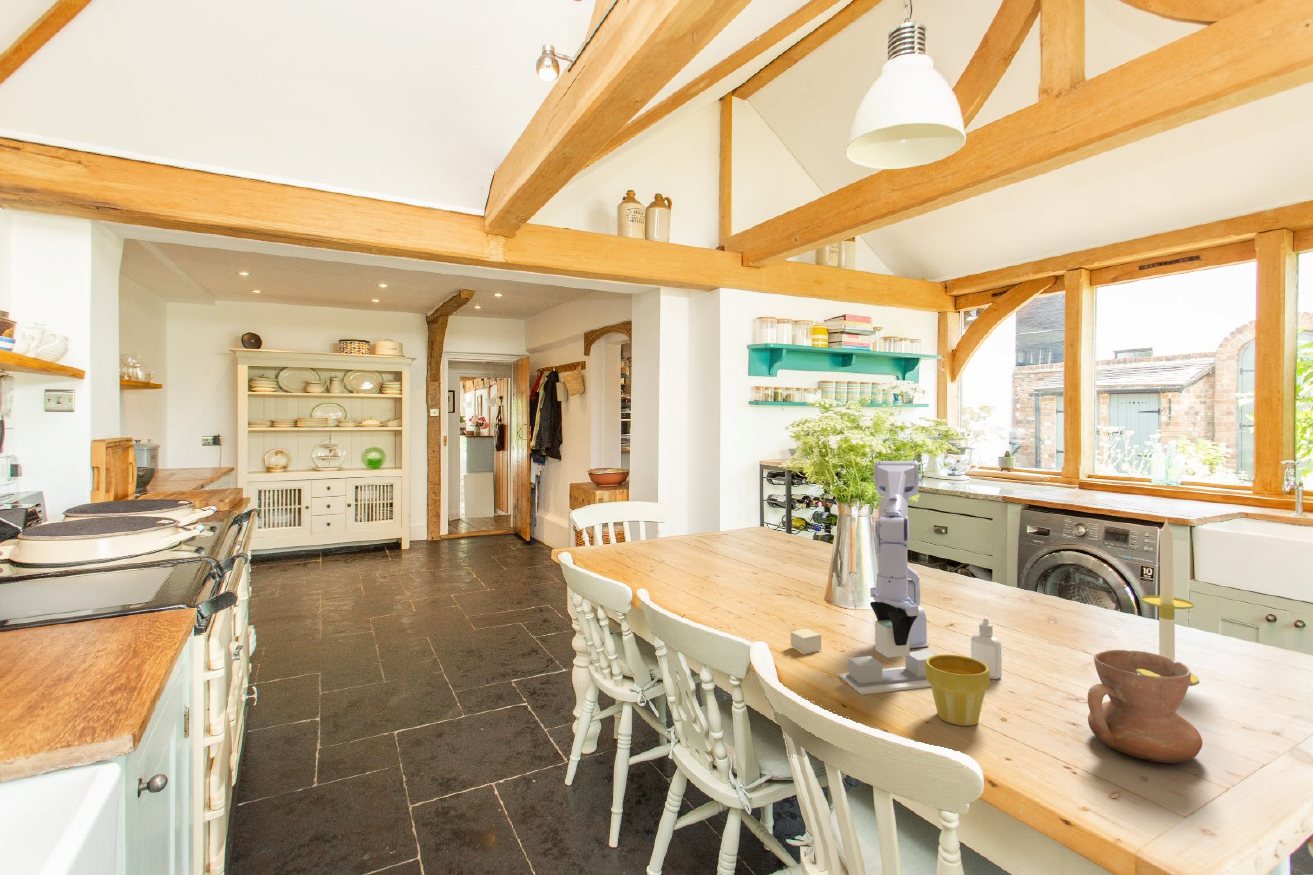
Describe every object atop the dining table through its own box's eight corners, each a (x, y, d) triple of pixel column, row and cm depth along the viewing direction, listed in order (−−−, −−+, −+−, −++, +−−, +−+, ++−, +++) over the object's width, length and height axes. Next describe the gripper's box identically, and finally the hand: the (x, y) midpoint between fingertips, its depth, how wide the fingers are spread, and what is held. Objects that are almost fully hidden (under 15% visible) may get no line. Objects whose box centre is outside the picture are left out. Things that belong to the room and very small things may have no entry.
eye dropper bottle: (983, 680, 127) (983, 622, 127) (968, 670, 133) (968, 614, 133) (1004, 679, 127) (1004, 622, 127) (988, 669, 133) (988, 613, 133)
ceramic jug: (1149, 722, 109) (1146, 642, 108) (1236, 767, 94) (1233, 674, 94) (1055, 733, 106) (1052, 651, 106) (1129, 780, 92) (1125, 685, 92)
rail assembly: (924, 667, 135) (924, 646, 135) (951, 684, 126) (951, 661, 126) (839, 676, 131) (838, 654, 131) (861, 694, 122) (860, 671, 122)
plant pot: (935, 699, 119) (934, 649, 119) (995, 714, 113) (995, 661, 113) (919, 720, 111) (918, 666, 111) (982, 737, 105) (981, 680, 105)
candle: (1155, 662, 134) (1154, 513, 134) (1210, 680, 125) (1210, 519, 124) (1125, 670, 131) (1124, 516, 130) (1179, 689, 121) (1178, 523, 121)
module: (897, 647, 131) (896, 618, 131) (909, 655, 126) (909, 625, 126) (875, 649, 130) (874, 620, 130) (887, 657, 125) (886, 627, 125)
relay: (807, 644, 150) (807, 628, 150) (821, 651, 146) (821, 634, 146) (790, 648, 148) (790, 631, 148) (804, 655, 144) (803, 638, 144)
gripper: (857, 568, 134) (858, 630, 135) (895, 585, 120) (896, 655, 120) (886, 566, 136) (887, 628, 136) (927, 582, 121) (928, 651, 122)
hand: (893, 640), depth 128 cm, fingers closed on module, 4 cm apart
